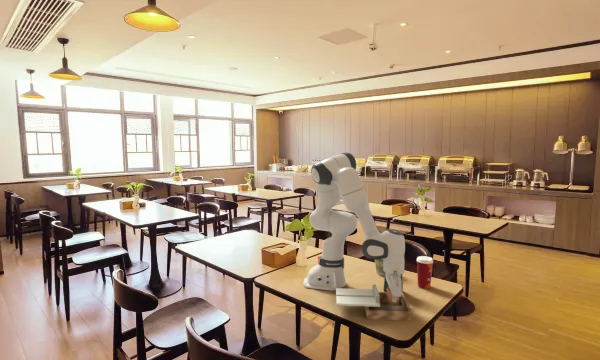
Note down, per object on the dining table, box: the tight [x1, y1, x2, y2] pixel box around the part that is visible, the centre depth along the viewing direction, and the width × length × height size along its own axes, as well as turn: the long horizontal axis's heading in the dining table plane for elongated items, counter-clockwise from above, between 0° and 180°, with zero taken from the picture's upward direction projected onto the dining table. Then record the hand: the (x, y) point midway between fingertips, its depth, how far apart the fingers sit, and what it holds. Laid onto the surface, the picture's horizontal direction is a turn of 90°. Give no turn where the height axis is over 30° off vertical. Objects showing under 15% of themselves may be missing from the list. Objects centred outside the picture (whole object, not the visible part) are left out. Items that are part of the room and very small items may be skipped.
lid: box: [335, 284, 380, 307], centre depth 150 cm, size 18×15×4 cm
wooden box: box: [363, 291, 412, 322], centre depth 149 cm, size 18×16×5 cm
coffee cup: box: [416, 255, 434, 290], centre depth 174 cm, size 8×8×15 cm
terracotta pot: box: [386, 287, 399, 305], centre depth 148 cm, size 6×6×6 cm
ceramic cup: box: [374, 259, 385, 277], centre depth 192 cm, size 13×10×10 cm
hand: (392, 298), depth 148 cm, fingers closed on terracotta pot, 5 cm apart
